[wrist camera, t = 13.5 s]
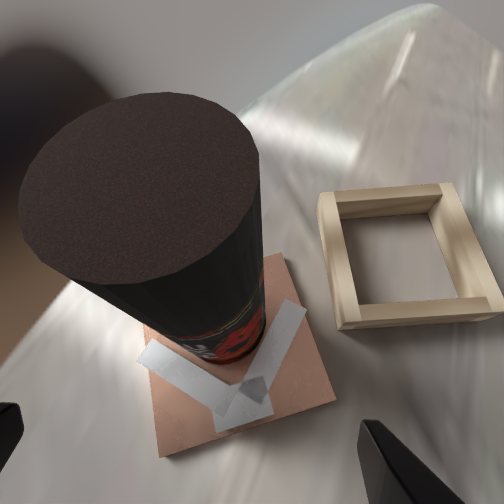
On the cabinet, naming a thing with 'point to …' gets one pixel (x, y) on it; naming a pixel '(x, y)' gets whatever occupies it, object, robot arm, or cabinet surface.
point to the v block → (237, 375)
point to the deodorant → (157, 218)
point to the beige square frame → (451, 243)
